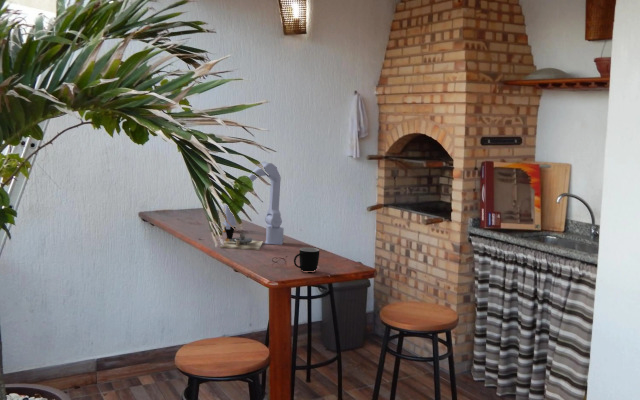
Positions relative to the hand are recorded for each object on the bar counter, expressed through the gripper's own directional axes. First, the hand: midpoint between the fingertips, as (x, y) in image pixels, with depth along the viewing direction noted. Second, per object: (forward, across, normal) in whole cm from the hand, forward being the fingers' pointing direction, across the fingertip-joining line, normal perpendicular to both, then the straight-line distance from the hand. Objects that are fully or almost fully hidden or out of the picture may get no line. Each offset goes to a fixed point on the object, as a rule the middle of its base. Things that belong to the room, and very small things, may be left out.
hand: (229, 240), depth 362 cm
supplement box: (+2, -41, -8) cm, 42 cm away
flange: (0, +1, +5) cm, 5 cm away
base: (+2, 0, +7) cm, 7 cm away
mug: (+2, +54, +42) cm, 68 cm away
